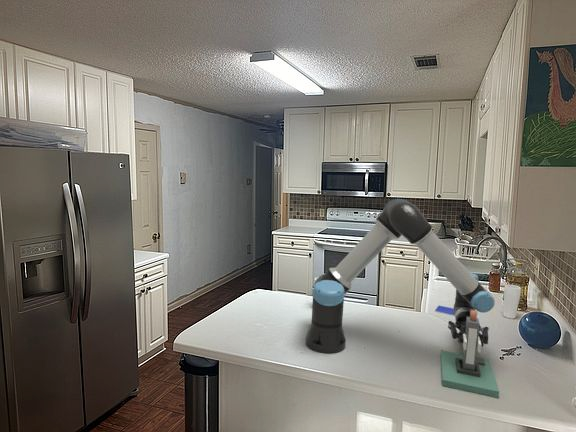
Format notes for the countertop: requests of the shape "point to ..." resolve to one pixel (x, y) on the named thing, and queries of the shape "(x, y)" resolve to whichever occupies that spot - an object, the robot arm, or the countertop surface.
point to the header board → (468, 375)
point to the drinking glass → (511, 300)
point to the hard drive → (445, 310)
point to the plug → (471, 341)
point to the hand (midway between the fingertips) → (472, 347)
